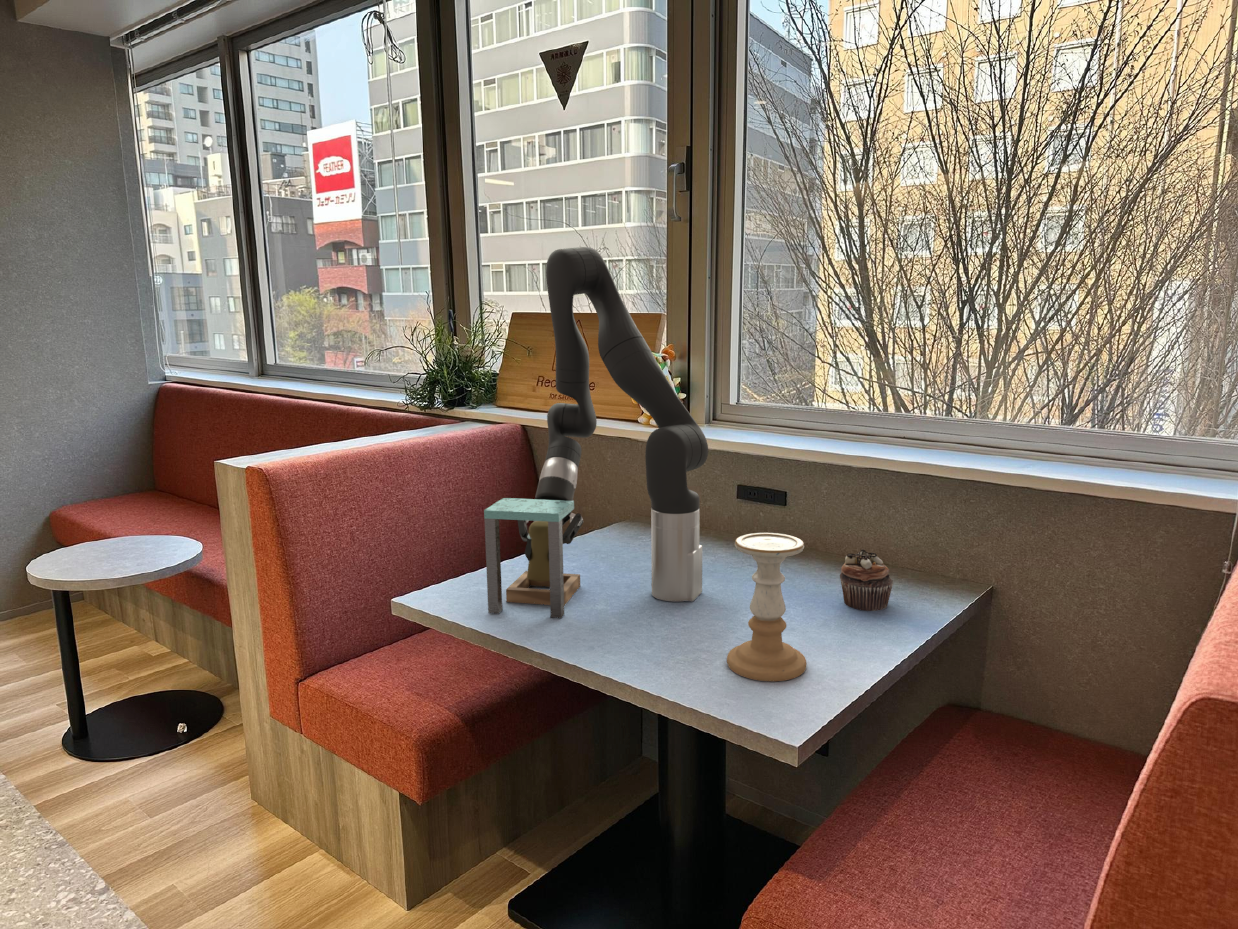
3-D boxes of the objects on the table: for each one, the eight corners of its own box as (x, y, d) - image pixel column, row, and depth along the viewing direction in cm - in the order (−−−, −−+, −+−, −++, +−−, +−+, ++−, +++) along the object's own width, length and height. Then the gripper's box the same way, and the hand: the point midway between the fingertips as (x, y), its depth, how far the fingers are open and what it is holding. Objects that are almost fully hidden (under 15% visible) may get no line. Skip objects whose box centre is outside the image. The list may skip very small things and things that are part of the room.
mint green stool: (507, 595, 166) (503, 497, 163) (576, 599, 163) (573, 500, 160) (488, 613, 157) (484, 510, 153) (561, 618, 154) (558, 513, 150)
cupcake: (878, 616, 153) (880, 563, 151) (829, 604, 159) (831, 553, 158) (901, 603, 160) (904, 551, 158) (853, 591, 166) (856, 542, 165)
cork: (553, 582, 163) (552, 527, 161) (522, 580, 164) (522, 525, 162) (561, 572, 169) (561, 519, 167) (532, 570, 170) (531, 517, 168)
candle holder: (713, 671, 131) (715, 545, 127) (745, 644, 141) (747, 526, 138) (789, 689, 125) (793, 557, 121) (817, 659, 135) (821, 537, 131)
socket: (526, 582, 174) (525, 571, 173) (580, 586, 171) (580, 574, 171) (506, 602, 163) (506, 589, 162) (564, 606, 160) (564, 593, 160)
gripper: (519, 473, 172) (500, 548, 162) (587, 476, 168) (571, 553, 159) (528, 493, 178) (510, 566, 168) (594, 496, 175) (579, 571, 165)
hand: (540, 559), depth 164 cm, fingers closed on cork, 3 cm apart
